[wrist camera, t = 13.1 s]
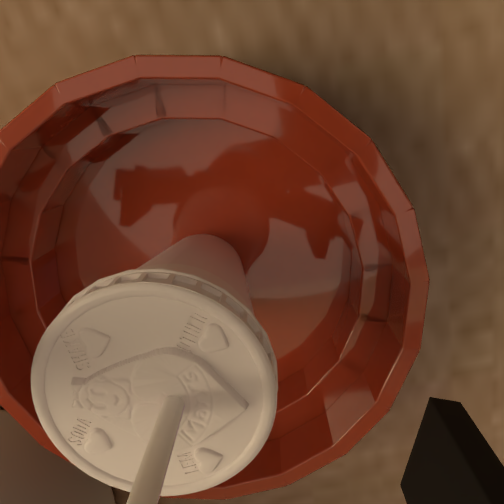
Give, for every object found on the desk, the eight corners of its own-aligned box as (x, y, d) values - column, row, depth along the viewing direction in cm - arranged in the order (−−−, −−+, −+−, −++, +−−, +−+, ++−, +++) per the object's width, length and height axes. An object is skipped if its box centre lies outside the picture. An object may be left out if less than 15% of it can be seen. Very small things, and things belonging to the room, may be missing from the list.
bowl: (467, 233, 20) (532, 268, 15) (243, 475, 24) (238, 562, 19) (150, -22, 17) (106, -76, 13) (-39, 300, 22) (-125, 351, 17)
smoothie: (266, 339, 21) (271, 717, 8) (135, 329, 21) (-87, 689, 8) (278, 209, 19) (311, 410, 6) (134, 199, 19) (-160, 374, 6)
